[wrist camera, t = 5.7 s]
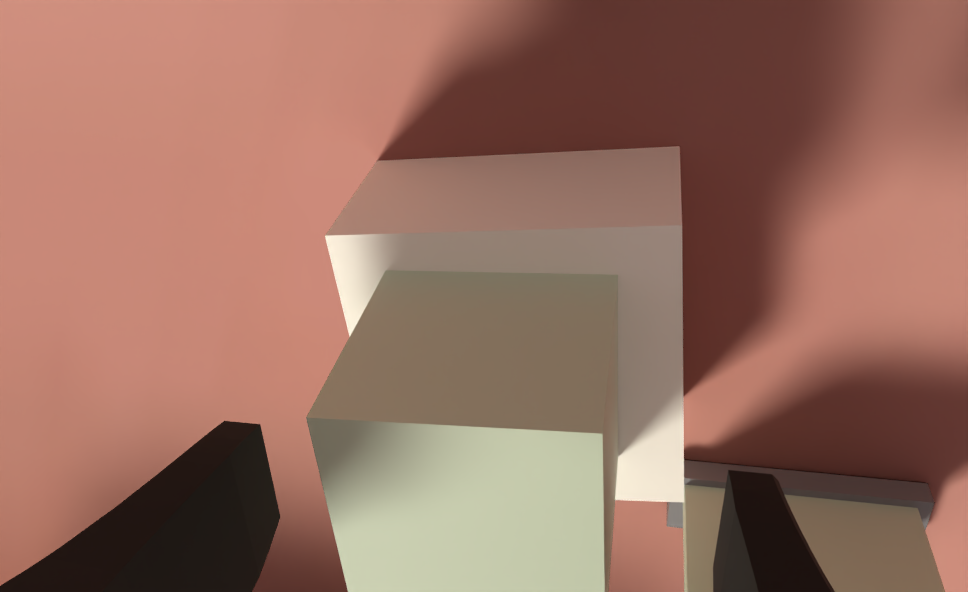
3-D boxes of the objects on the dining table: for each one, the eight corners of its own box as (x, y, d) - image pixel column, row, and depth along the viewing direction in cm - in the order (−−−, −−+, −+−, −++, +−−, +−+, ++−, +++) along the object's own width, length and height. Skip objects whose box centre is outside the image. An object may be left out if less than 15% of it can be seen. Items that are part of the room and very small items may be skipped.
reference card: (927, 483, 19) (998, 684, 15) (911, 534, 20) (974, 736, 16) (672, 458, 20) (673, 642, 16) (666, 508, 21) (666, 693, 17)
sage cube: (618, 274, 14) (602, 433, 11) (617, 457, 16) (605, 637, 13) (385, 270, 15) (306, 417, 12) (413, 445, 17) (352, 611, 14)
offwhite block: (679, 140, 17) (682, 225, 14) (681, 390, 20) (684, 502, 17) (380, 155, 18) (324, 235, 15) (426, 387, 21) (387, 491, 18)
